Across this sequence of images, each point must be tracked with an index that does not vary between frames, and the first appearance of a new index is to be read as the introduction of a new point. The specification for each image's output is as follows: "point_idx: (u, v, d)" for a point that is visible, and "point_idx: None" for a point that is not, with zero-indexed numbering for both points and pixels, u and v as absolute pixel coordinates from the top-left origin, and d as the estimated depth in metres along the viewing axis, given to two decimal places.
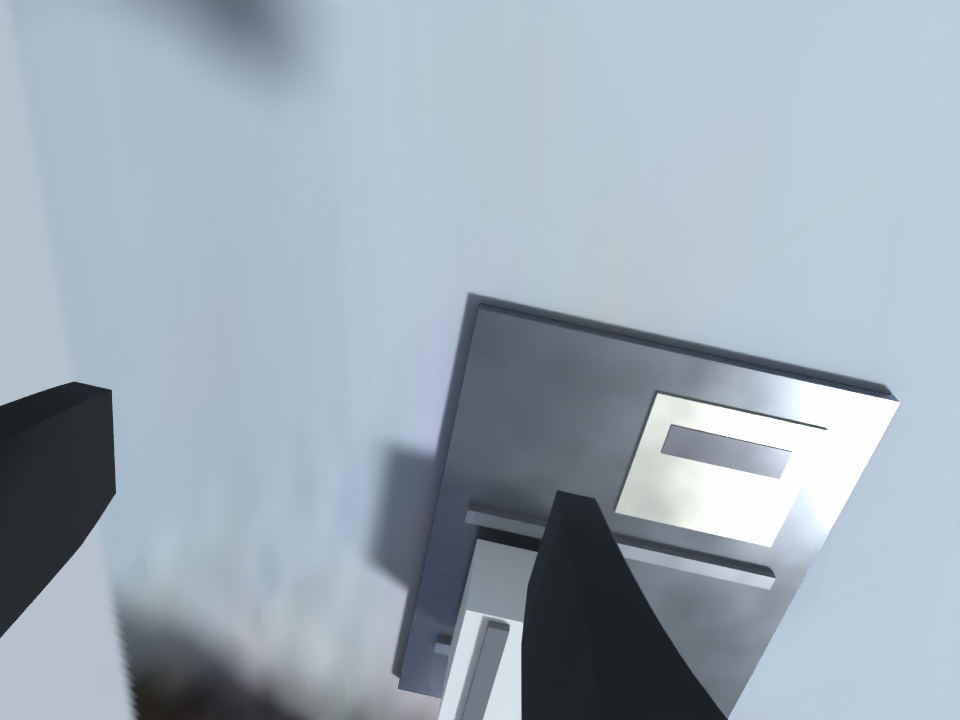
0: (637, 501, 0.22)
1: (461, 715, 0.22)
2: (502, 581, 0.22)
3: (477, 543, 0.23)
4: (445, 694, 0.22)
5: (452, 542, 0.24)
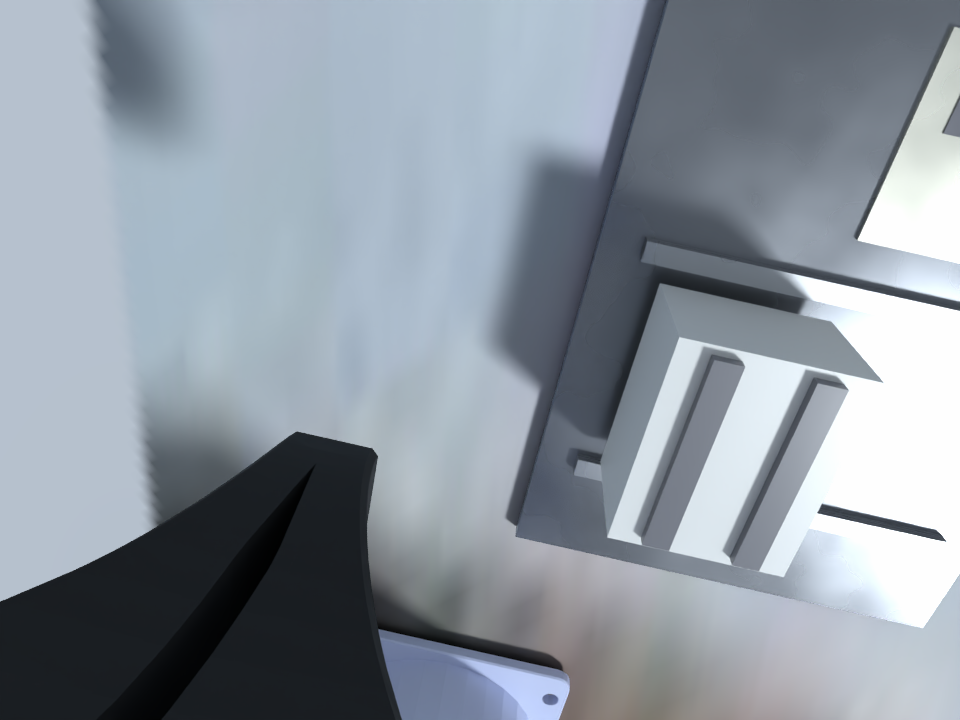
0: (893, 221, 0.16)
1: (645, 522, 0.16)
2: (713, 319, 0.15)
3: (662, 287, 0.16)
4: (626, 488, 0.15)
5: (615, 301, 0.17)
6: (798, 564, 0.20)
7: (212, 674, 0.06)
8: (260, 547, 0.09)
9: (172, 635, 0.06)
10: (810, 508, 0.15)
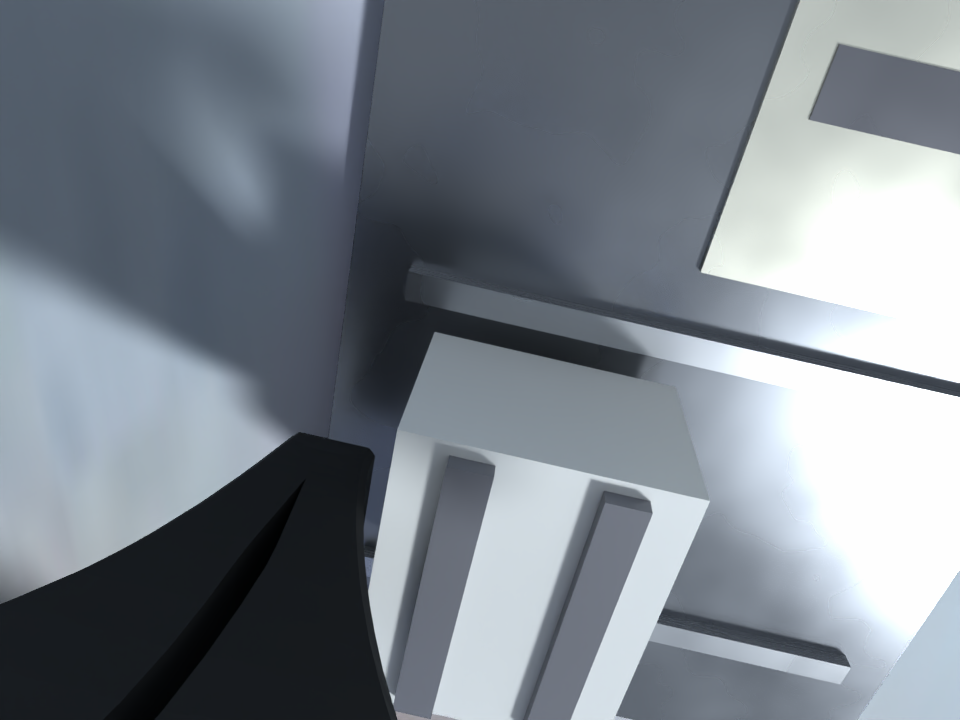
0: (747, 245, 0.11)
1: (397, 677, 0.11)
2: (480, 392, 0.10)
3: (434, 338, 0.12)
4: None
5: (383, 351, 0.13)
6: (663, 685, 0.15)
7: (207, 673, 0.06)
8: (264, 548, 0.09)
9: (177, 636, 0.06)
10: (624, 666, 0.10)
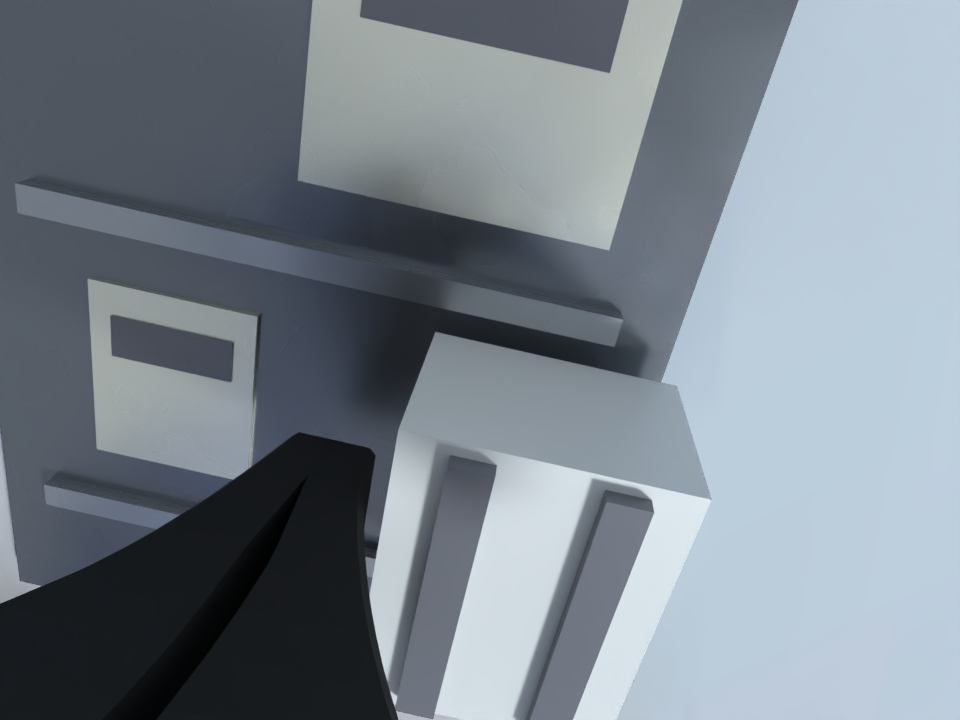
0: (335, 150, 0.11)
1: (399, 678, 0.11)
2: (482, 392, 0.10)
3: (435, 338, 0.12)
4: None
5: (22, 270, 0.13)
6: None
7: (208, 673, 0.06)
8: (262, 547, 0.09)
9: (175, 636, 0.06)
10: (627, 666, 0.10)
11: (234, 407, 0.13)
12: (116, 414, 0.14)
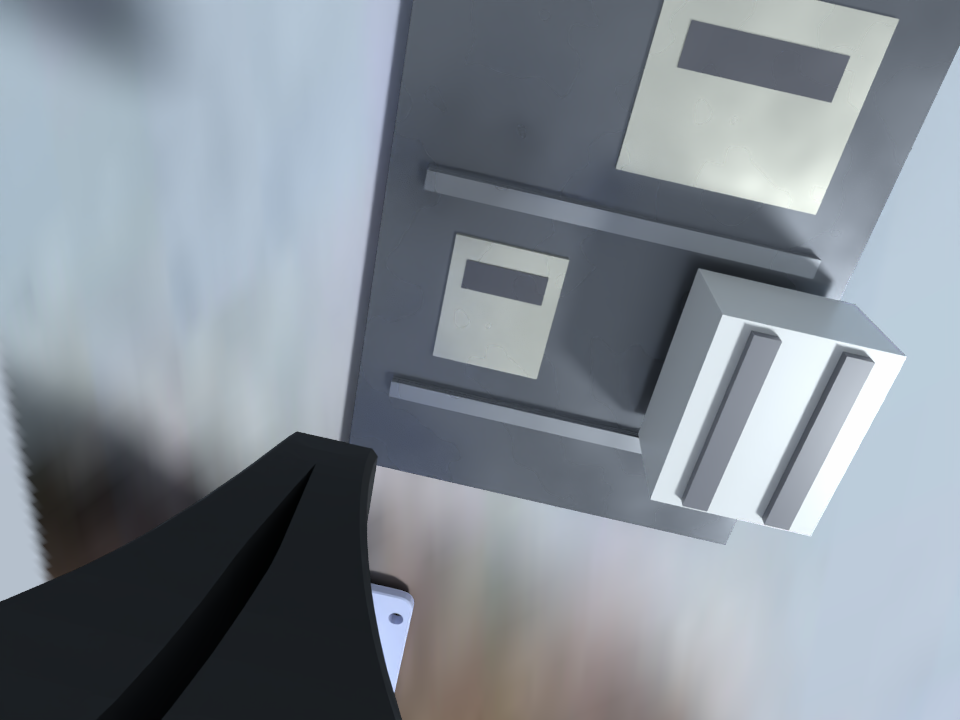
0: (644, 150, 0.17)
1: (685, 485, 0.17)
2: (750, 300, 0.16)
3: (700, 271, 0.18)
4: (669, 453, 0.17)
5: (409, 229, 0.19)
6: (605, 483, 0.22)
7: (212, 674, 0.06)
8: (260, 547, 0.09)
9: (172, 635, 0.06)
10: (837, 472, 0.17)
11: (539, 324, 0.20)
12: (453, 330, 0.20)
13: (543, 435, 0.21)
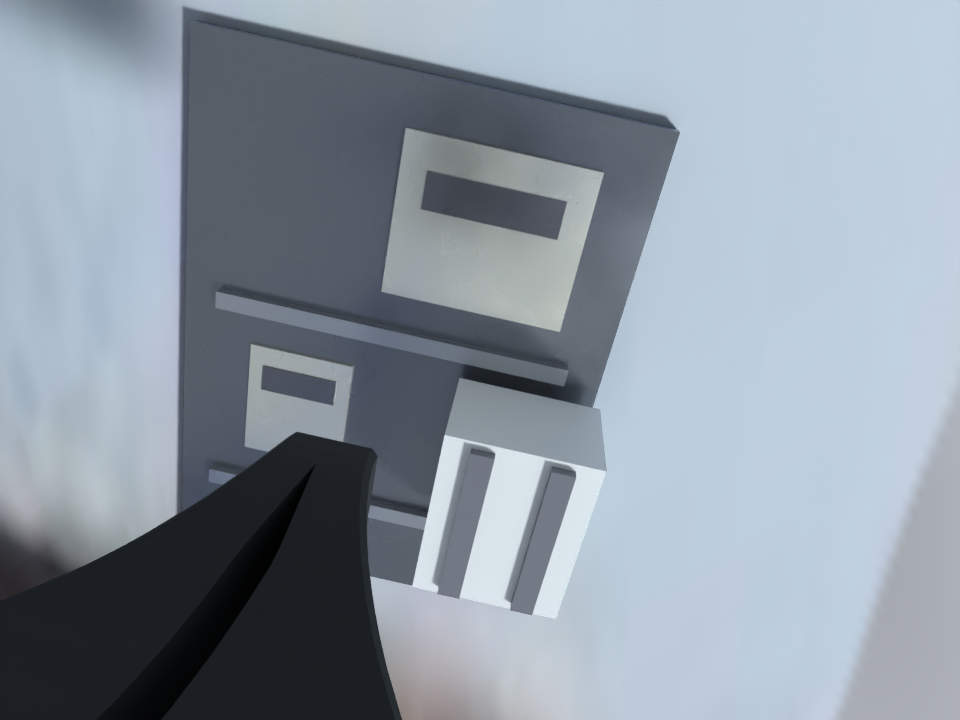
0: (403, 276, 0.19)
1: (440, 575, 0.19)
2: (487, 414, 0.19)
3: (459, 381, 0.20)
4: (421, 548, 0.19)
5: (210, 339, 0.21)
6: (413, 557, 0.24)
7: (212, 673, 0.06)
8: (260, 547, 0.09)
9: (172, 635, 0.06)
10: (567, 565, 0.19)
11: (334, 420, 0.22)
12: (259, 424, 0.22)
13: None
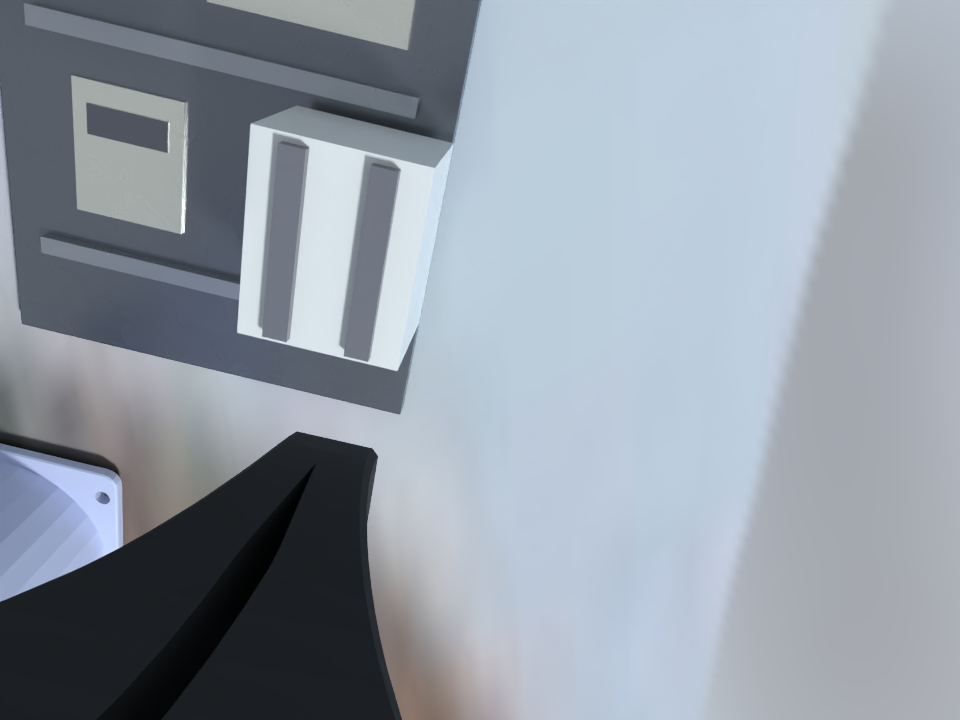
0: None
1: None
2: (313, 124, 0.16)
3: (295, 107, 0.18)
4: (241, 280, 0.17)
5: (27, 70, 0.19)
6: (272, 348, 0.22)
7: (212, 674, 0.06)
8: (260, 547, 0.09)
9: (172, 635, 0.06)
10: (403, 299, 0.17)
11: (170, 173, 0.20)
12: (90, 180, 0.20)
13: (202, 296, 0.21)
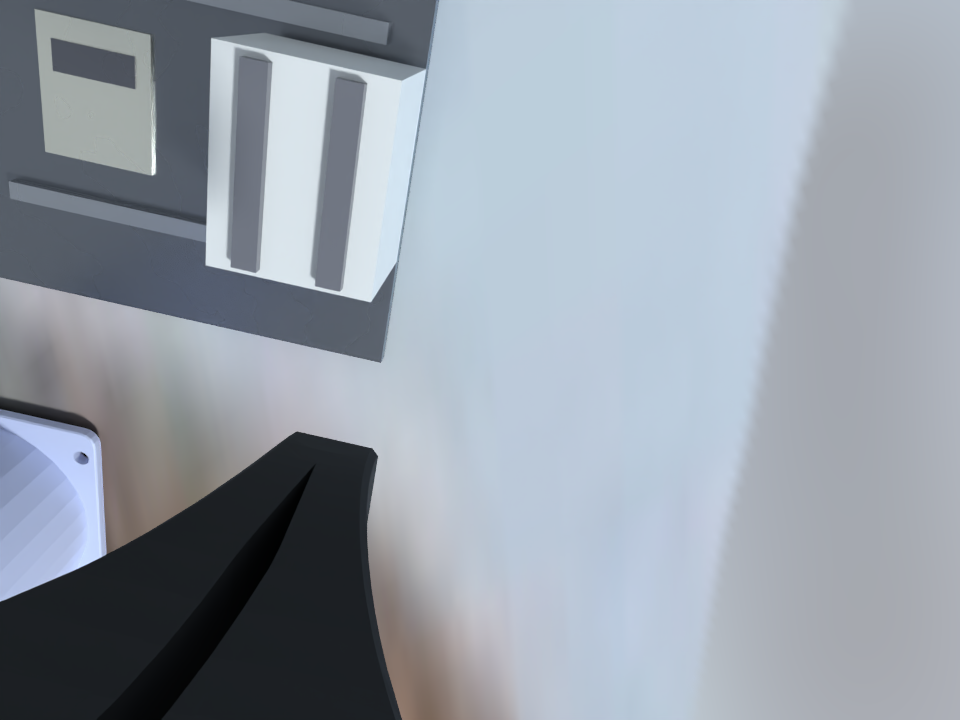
0: None
1: None
2: (279, 44, 0.16)
3: (262, 33, 0.17)
4: (208, 208, 0.16)
5: None
6: (248, 295, 0.21)
7: (212, 674, 0.06)
8: (260, 547, 0.09)
9: (172, 635, 0.06)
10: (374, 224, 0.16)
11: (139, 111, 0.19)
12: (58, 121, 0.19)
13: (175, 241, 0.21)
